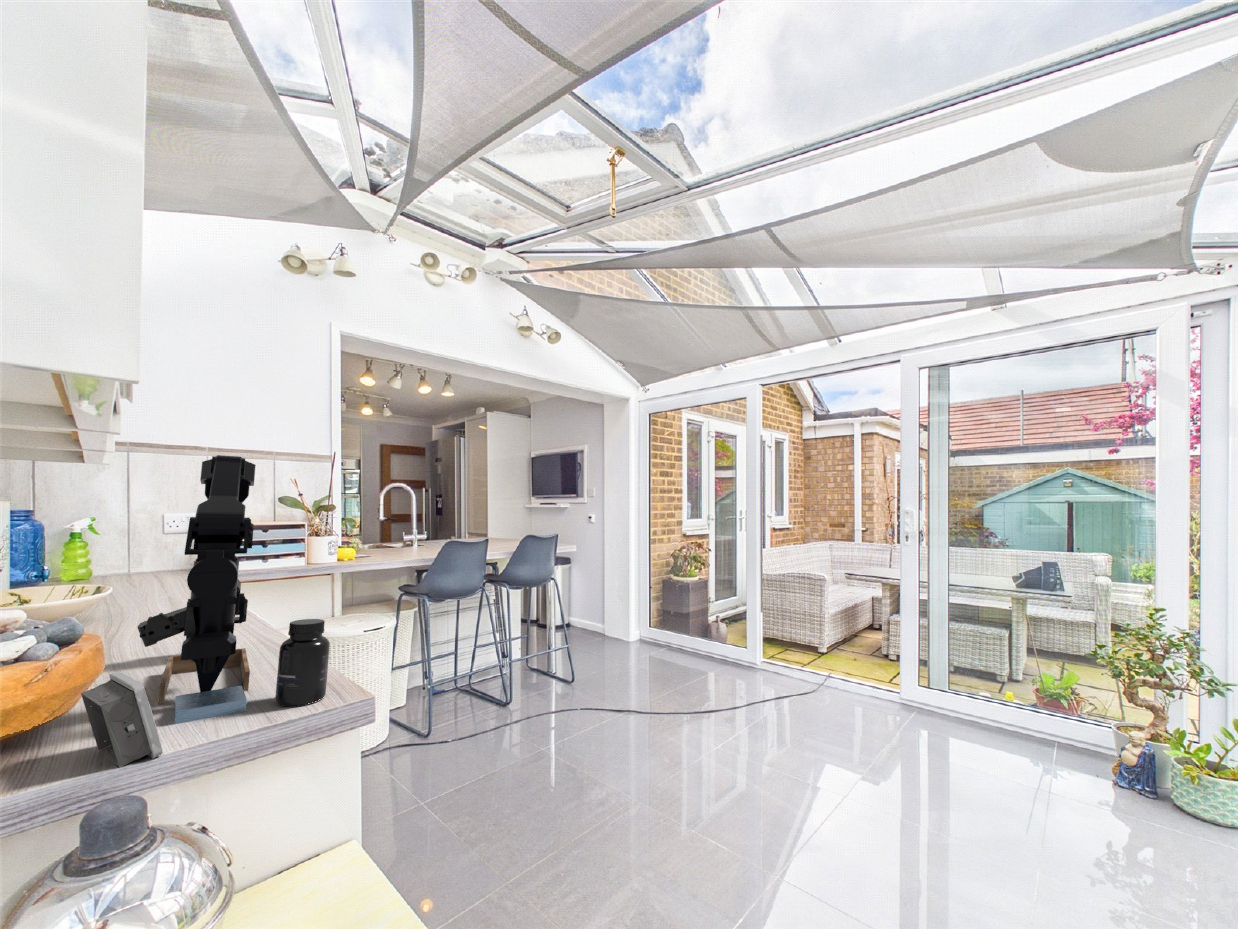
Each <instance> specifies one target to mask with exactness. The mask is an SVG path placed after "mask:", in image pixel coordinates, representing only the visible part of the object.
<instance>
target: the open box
mask: <svg viewBox="0 0 1238 929" xmlns="http://www.w3.org/2000/svg"><path fill="white" fill-rule="evenodd" d="M246 649H247V648H245V647H242V648H236V652H235V654H232V655H230V656H229V658H228V660H227V662H226V664H225V665H224V667H223V669H224V668H232V667H239V665H240V673H241V681H242V688H243V690H244V692H246V691H249V687H250V686H249V685H250V677H251V676H250V675H251V673H250V672H251V670H250V664H249V660H248V656H247V650H246ZM190 672H191V673H193V672H197V669H196V664H195V662H194V661H192V660H181V654H180V655H174V656H168V659H167V663H166V666H165V668H164V670H163V674H162V676H161V679H160V682H159V691H158V699H157V700H158V701H157V705H160V704H164V703H165V698H166V695H167V691H168V689H169V684H170V681H171V677H172V676H173V675H177V674H185V673H190Z"/></svg>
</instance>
